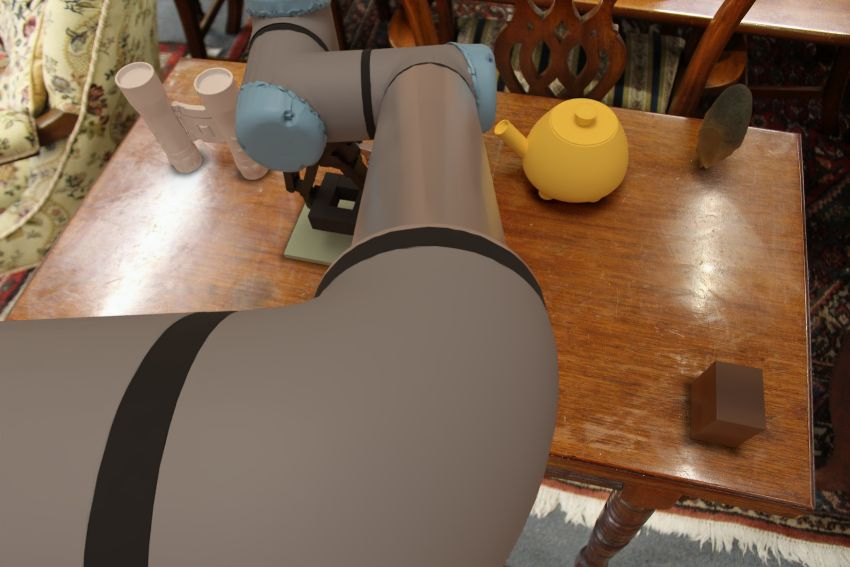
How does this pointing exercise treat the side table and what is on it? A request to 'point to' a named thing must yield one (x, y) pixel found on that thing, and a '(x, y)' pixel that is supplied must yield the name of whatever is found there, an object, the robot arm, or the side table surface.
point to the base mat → (317, 240)
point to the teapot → (572, 151)
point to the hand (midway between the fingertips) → (351, 224)
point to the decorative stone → (724, 125)
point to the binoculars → (188, 116)
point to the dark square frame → (335, 205)
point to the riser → (727, 404)
